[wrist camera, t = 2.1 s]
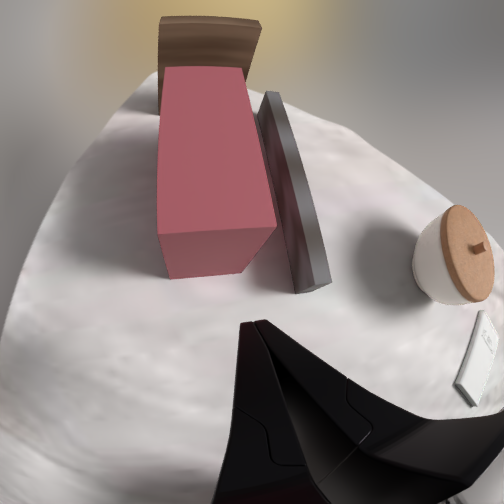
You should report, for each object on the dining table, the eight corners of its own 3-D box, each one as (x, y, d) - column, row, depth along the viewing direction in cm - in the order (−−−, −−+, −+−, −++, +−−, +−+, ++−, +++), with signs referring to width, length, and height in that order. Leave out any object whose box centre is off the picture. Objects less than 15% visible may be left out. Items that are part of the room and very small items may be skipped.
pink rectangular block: (241, 273, 23) (277, 226, 14) (170, 279, 22) (157, 234, 12) (223, 143, 27) (241, 67, 18) (166, 145, 26) (165, 67, 16)
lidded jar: (391, 295, 26) (458, 272, 17) (402, 215, 30) (454, 179, 21) (446, 324, 27) (505, 311, 18) (452, 251, 31) (501, 227, 22)
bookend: (310, 291, 24) (401, 249, 13) (160, 309, 21) (130, 274, 10) (266, 105, 31) (297, 27, 19) (159, 104, 27) (161, 16, 16)
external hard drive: (451, 383, 25) (476, 310, 30) (470, 406, 25) (493, 339, 30) (460, 383, 24) (484, 309, 28) (478, 406, 23) (500, 337, 28)
